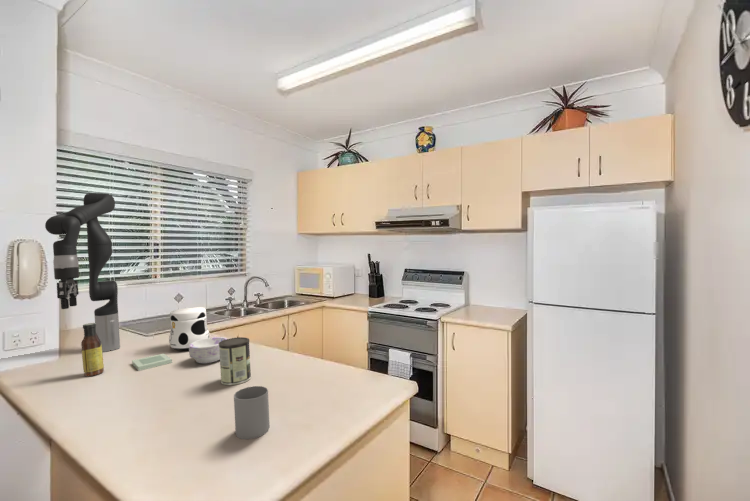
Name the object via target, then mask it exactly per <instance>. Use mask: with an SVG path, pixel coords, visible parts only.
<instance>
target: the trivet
mask: <svg viewBox="0 0 750 501" xmlns="http://www.w3.org/2000/svg"><path fill="white" fill-rule="evenodd" d="M172 363H173V359H172V358H171V357H170V356H168V355H166V354H165V353H160V354H156V355H150V356H145V357H141V358H137V359H133V360H131V364H132V365H133V367H134V368H135V369H136V370H137V371H139V372H140V371H143V370H147V369H152V368H155V367H160V366H164V365H170V364H172Z"/></svg>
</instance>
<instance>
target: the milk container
mask: <svg viewBox="0 0 750 501" xmlns="http://www.w3.org/2000/svg"><path fill="white" fill-rule="evenodd" d="M169 319H170V320H169V322H170V332H169V335H168V336H169V338H168V342H169V346H170V347H171V349H174V350H179V351H184V350H188V351H189V345H190V344H191V343H193V342H195V341H198V340H201V339H206V338H210V330H209V328H208V320H207V310H206V307H203V306H198V307H197V306H196V307H195V306H194V307H184V308H178V309H174V310H171V311H170V313H169Z"/></svg>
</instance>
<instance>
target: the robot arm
mask: <svg viewBox="0 0 750 501" xmlns="http://www.w3.org/2000/svg"><path fill="white" fill-rule="evenodd" d="M83 196H84V197H83V205H80V206H76V207H74V208H72V209H70V210H68V211H67V212H64V213H63V212H62V213H59V214H57V215H56V214H55V215H53V216H51V217H49V218H48V219H47V220H46V221H45V224H44V228H45V230H46V231H47V232H48V233H49V234H50V235H56V236H59V235H64V238H62V239H59V240H56V241H54V242H53V244H52V247H53V248H52V249H53V251H52V252H53V275H54V280H60V281H59V282H56V296H57V297H56V298H57V299H59V300H60V309H61V310H68V309H69V308H70V307H76V306H77V305H78V303H77V302H78V301H77V297H78V295H79V293H80V292H79V283H78V280H77V279H78V278H80V267H79V259H78V258H79V257H78V249H77V245H78V244H77V243H78V240H79V236H80V235H79V234H80V232H81V229H82V228H81V227H82V226H83V225H85V224H86V233H87V234H86V236H87V238H86V239H87V243H86V244H87V245H86V246H87V256H88V257H87V259H88V268H89V269H88V270H89V274H88V276H89V278H88V293H89V294H88V295H89V300H90V301H92V302H100V301H101V302H102V301H108V302H107V303H105V304H104V305H102V306H100V307H97V308H95V309H94V311H93V314H94V323H96V333H97V335H98V337H99V339H100V341H101V344H102V353H103V352H104V353H105V352H110V350H111V351H114V350H118V349H119V348H120V347H121V342H120V341H121V339H120V323H119V322H120V321H119V306H118V304H119V302H118V296H119V295H118V293H119V292H118V291H119V290H118V289H119V288H118V283H117V281H116V280H103V281H98V280H99V275H100V274H101V272H102V270H103V268H104V267H105V265H106V264H107V263H108V262H109V260H110V259H111V258H112V255H113V244H112V242H113V241H112V239H111V237H110V235H109V234H108V233H107V232H106V231H105V229H104V228H103V226H101V225H102V224H100V222H99V218H98V217H100V216H102V215H106V214H108V213H109V214H110V213H111V212H113V211H114V210H115V208H116V201H115V198H114V197H113V195H111V194H109V193H99V192H98V193H94V192H92V193H90V192H88V193H86V194H84V195H83ZM74 279H76V280H74Z"/></svg>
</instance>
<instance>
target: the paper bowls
mask: <svg viewBox="0 0 750 501" xmlns="http://www.w3.org/2000/svg"><path fill="white" fill-rule="evenodd" d="M226 339H228V338H227V337H222V336H220V337H219V336H216V337H215V336H213V337H209V338H206V339H201V340H198V341H195V342H193V343H191V344H190V345H189V349H188V352H189V354H188V355H189V358H191V359H194V360H195V362H196V363H198V364H210V363H215V362H218V361H220V351H219V342H221V341H223V340H226Z"/></svg>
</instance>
